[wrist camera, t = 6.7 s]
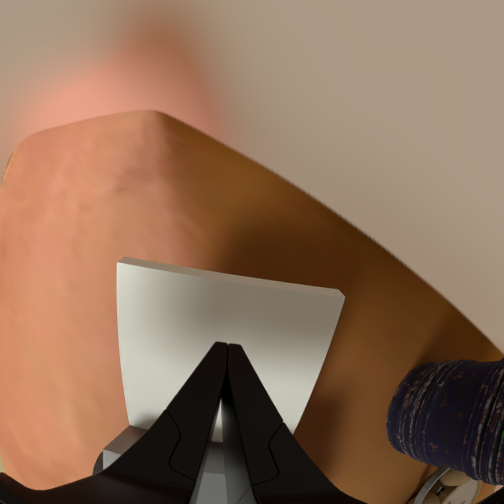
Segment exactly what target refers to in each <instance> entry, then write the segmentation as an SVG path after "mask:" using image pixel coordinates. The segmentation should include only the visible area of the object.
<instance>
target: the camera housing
mask: <svg viewBox="0 0 504 504" xmlns="http://www.w3.org/2000/svg"><path fill="white" fill-rule="evenodd" d="M147 430H148V429H143V428H139V427H136V426H132V425H130V426H129V427H127V428H126V429H125V430H124V431H123V432H122V433H121V434H120V435H119V436H117V437H116V438H115V439H114V440H113V441H112V442H111V443H109V444H108V445H107V446H106V447H105V448H104V449H103V452H101V454H100V455H99V456H98V458H97V460H96V463H95V466H94V470H93V475H94V474H96V473H98V472H100V471H102V470H104V469H105V468H106V467H108V466H109V465H110V464H112V463H113V462H114V461H115V460H116V459H117V458H119V457H120V456H121V455H122V454H123V453H124V452H125V451H126V450H127V449H128V448H130V447H131V446H132V445H133V444H134V443H135V442H136V441H137V440H138V439H139V438H140V437H141V436H142V435H143V434H144V433H145V432H146V431H147ZM196 504H228V503H227V492H226V480H225V467H224V453H223V442H215V441H211V445H210V449H209V453H208V457H207V461H206V465H205V469H204V473H203V477H202V481H201V485H200V489H199V493H198V497H197V501H196Z"/></svg>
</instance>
